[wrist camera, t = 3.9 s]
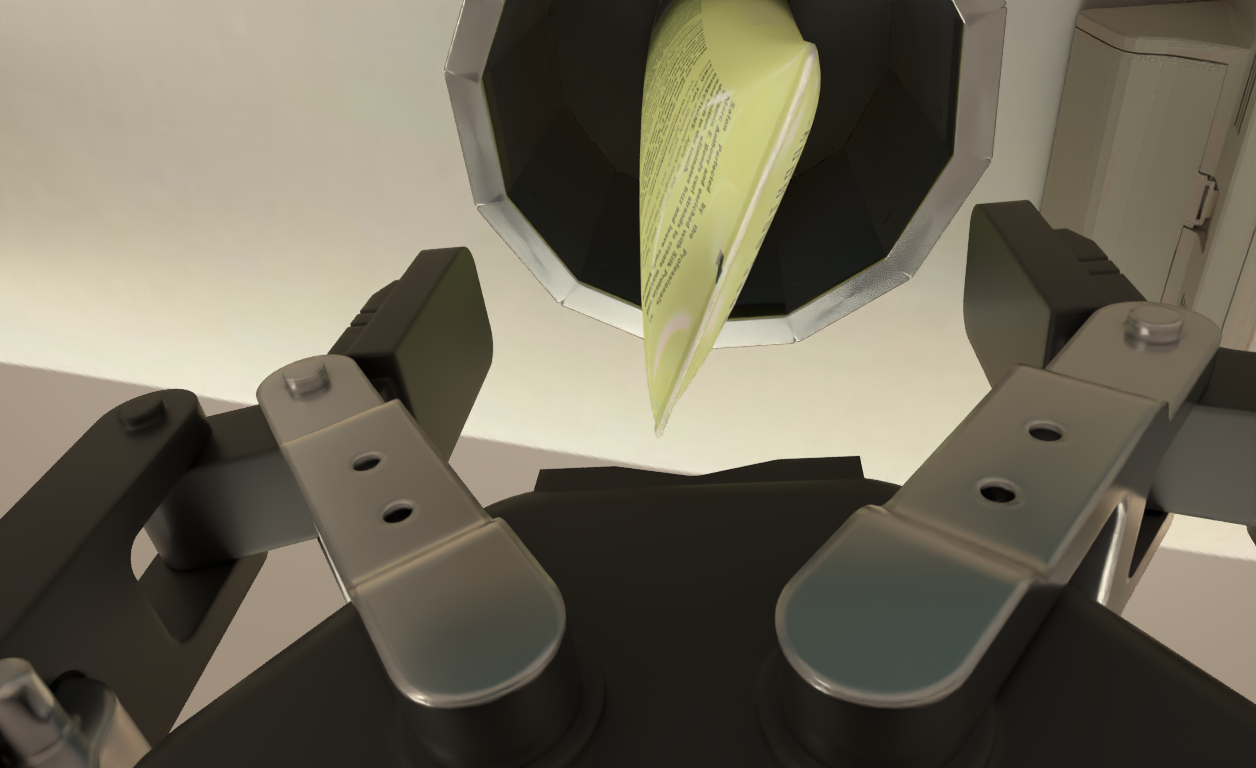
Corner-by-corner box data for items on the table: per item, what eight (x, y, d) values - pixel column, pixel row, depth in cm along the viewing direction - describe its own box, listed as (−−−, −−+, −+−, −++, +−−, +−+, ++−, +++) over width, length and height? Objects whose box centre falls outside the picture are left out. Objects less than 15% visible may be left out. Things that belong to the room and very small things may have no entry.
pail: (561, 236, 35) (511, 362, 27) (489, -162, 28) (388, -160, 20) (911, 206, 33) (975, 332, 25) (933, -232, 26) (1034, -264, 18)
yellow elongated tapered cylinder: (816, 86, 31) (918, 363, 15) (688, 140, 33) (653, 445, 16) (763, -74, 29) (818, 50, 12) (627, -7, 30) (514, 180, 14)
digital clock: (1179, 340, 35) (1333, 511, 26) (962, 306, 35) (1042, 465, 26) (1427, -110, 26) (1785, -81, 18) (1137, -152, 27) (1346, -146, 18)
